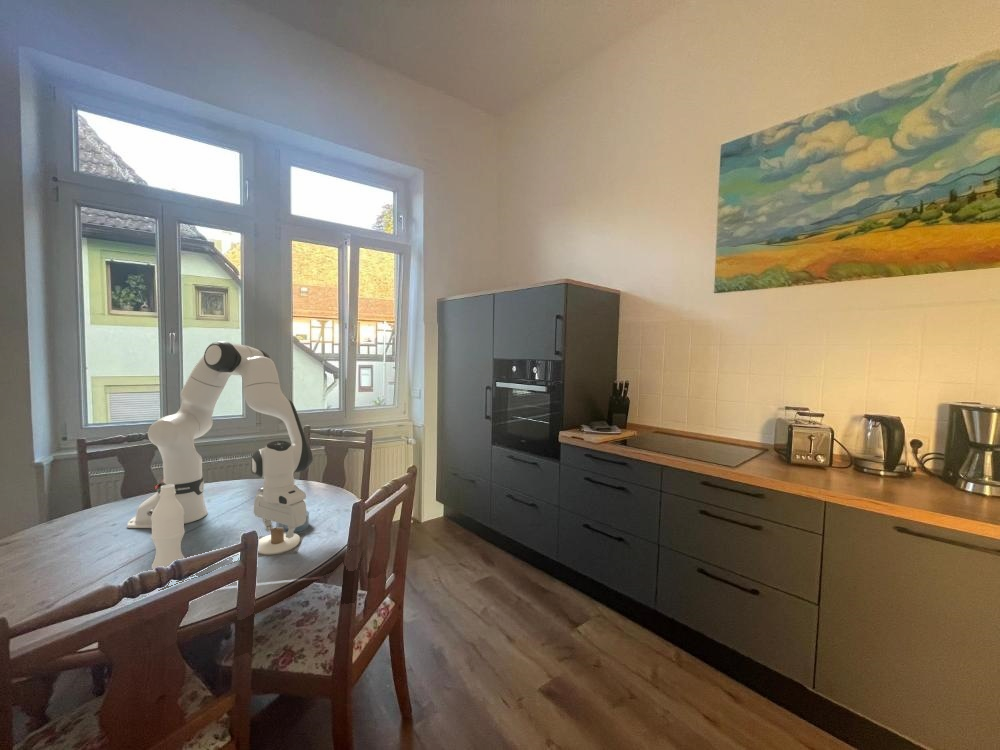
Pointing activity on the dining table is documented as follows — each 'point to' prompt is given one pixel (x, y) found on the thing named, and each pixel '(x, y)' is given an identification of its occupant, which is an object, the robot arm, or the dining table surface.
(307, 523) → the bowl
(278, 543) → the lid
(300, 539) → the mat
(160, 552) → the water bottle
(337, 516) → the dining table surface
